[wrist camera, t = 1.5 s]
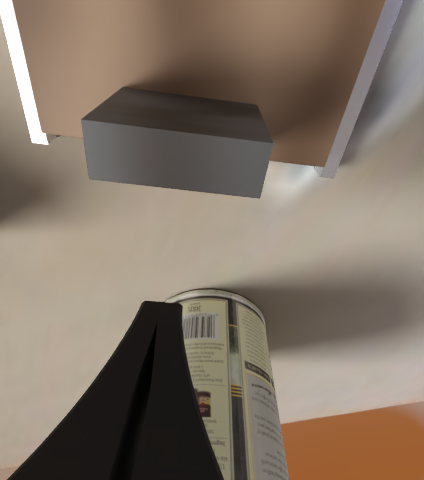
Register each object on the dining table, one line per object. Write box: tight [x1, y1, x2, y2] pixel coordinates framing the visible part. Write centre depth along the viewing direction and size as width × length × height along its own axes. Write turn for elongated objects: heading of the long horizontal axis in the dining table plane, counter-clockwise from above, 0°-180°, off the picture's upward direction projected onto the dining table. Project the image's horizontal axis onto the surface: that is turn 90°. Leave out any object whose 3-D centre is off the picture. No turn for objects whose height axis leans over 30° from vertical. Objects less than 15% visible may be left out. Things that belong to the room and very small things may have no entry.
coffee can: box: [166, 289, 289, 480], centre depth 21 cm, size 10×10×14 cm
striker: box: [12, 0, 386, 198], centre depth 11 cm, size 14×8×7 cm, turn 83°
